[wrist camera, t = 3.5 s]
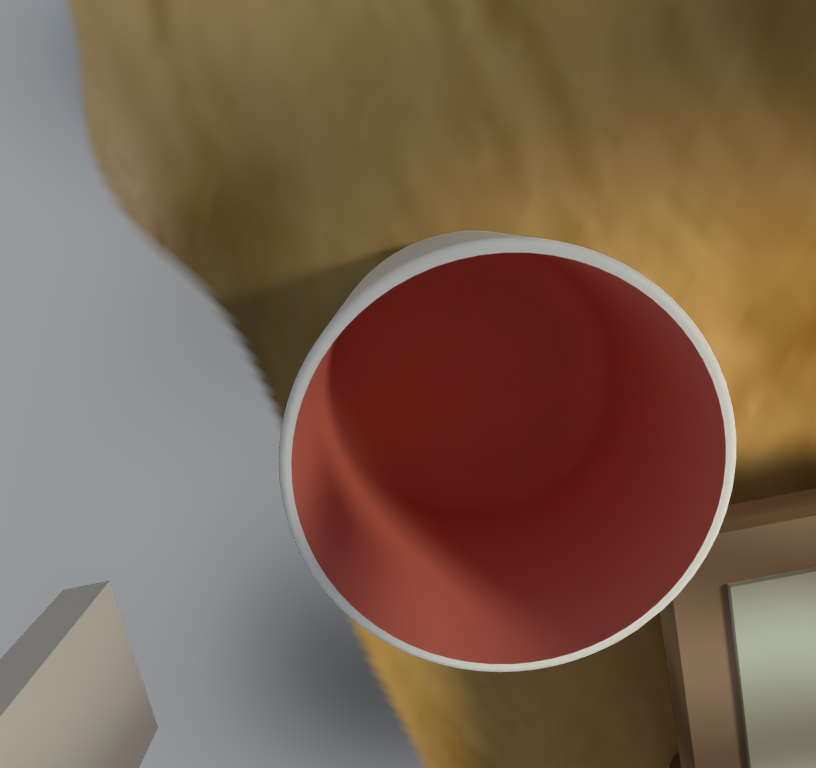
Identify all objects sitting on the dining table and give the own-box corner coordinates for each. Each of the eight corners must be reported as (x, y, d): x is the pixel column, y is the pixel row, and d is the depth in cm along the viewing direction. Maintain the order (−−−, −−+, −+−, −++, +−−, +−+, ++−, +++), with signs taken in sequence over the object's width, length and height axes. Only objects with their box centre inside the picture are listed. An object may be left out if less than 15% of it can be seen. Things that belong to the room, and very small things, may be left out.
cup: (462, 166, 23) (503, 128, 14) (667, 365, 25) (835, 458, 15) (269, 383, 25) (183, 487, 15) (472, 557, 27) (512, 751, 17)
